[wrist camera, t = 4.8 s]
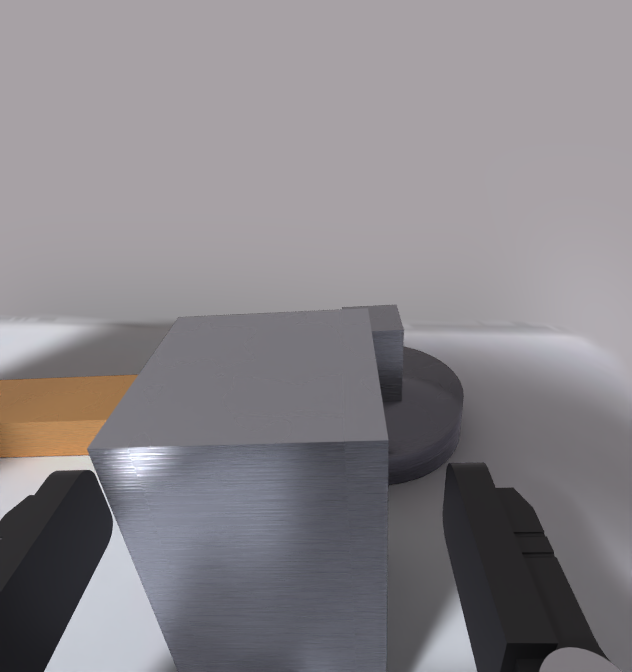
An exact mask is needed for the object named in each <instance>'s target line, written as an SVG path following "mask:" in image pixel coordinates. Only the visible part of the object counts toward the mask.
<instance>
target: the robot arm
mask: <svg viewBox="0 0 632 672" xmlns="http://www.w3.org/2000/svg"><path fill="white" fill-rule="evenodd" d="M443 527H444V535H445V540H446V544H447V549H448V553H449V557H450V561H451V565H452V569H453V573H454V577H455V581H456V586H457V590H458V594H459V598H460V602H461V606H462V610H463V614H464V618H465V623H466V627H467V631H468V635H469V639H470V643H471V647H472V651H473V655H474V660H475V664H476V668H477V672H622V671H621V670H620V669H619V668H617V667H616V666H615V665H614V664H613V663H611V662H610V660H609V659H608V658H607V657H606V656H605V654H604V653H603V651H602V650H601V648H600V647H599V645H598V643H597V642H596V640H595V638H594V636H593V634H592V632H591V629H590V627H589V625H588V623H587V621H586V619H585V617H584V615H583V613H582V610H581V608H580V606H579V604H578V602H577V600H576V598H575V596H574V593H573V591H572V589H571V587H570V585H569V583H568V581H567V579H566V577H565V574H564V572H563V570H562V568H561V566H560V564H559V562H558V560H557V558H556V557H555V556H554V551H553V549H552V547H551V545H550V543H549V541H548V538H547V537H545V535H544V530H543V528H542V526H541V524H540V522H539V519H538V517H537V515H536V513H535V511H534V509H533V507H532V506H531V505H530V504H529V503H528V502H527V501H526V500H525V499H524V498H523V497H522V496H521V495H520V494H519V493H518V492H517V491H516V490H515V489H514V488H495V485H494V483H493V480H492V478H491V475H490V473H489V470H488V468H487V466H486V464H485V463H449V464H448V465H447V471H446V482H445V492H444V503H443ZM112 528H113V519H112V515H111V512H110V509H109V507H108V505H107V502H106V500H105V497H104V495H103V493H102V490H101V488H100V485H99V483H98V480H97V478H96V476H95V474H94V473H93V472H92V471H90V470H71V471H55V472H53V473H52V474H50V475H49V476H48V478H47V479H46V480H45V482H44V483H43V484H42V486H41V487H40V488H39V490H38V491H37V492H36V494H35V495H29V496H28V497H26V498H25V499H24V500H23V501H21V502H20V503H19V504H18V505H17V506H15V507H14V508H13V509H12V510H10V511H9V512H8V513H7V514H5V516H4V517H3V518H2V519H1V521H0V672H44V670H45V668H46V666H47V664H48V662H49V661H50V659H51V657H52V655H53V653H54V651H55V649H56V647H57V645H58V643H59V641H60V639H61V637H62V635H63V633H64V631H65V629H66V627H67V625H68V623H69V621H70V619H71V617H72V615H73V613H74V611H75V609H76V607H77V605H78V603H79V601H80V599H81V597H82V595H83V593H84V591H85V589H86V587H87V585H88V583H89V581H90V579H91V577H92V575H93V573H94V571H95V569H96V567H97V565H98V563H99V561H100V559H101V558H102V556H103V554H104V552H105V550H106V548H107V546H108V543H109V541H110V538H111V534H112Z"/></svg>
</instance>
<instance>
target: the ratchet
mask: <svg viewBox="0 0 632 672" xmlns="http://www.w3.org/2000/svg"><path fill="white" fill-rule="evenodd" d="M362 308H368V311H369V318H370V324H371V331H372V337H373V344H374V350H375V357H376V363H377V370H378V376H379V382H380V389H381V395H382V402H383V408H384V415H385V421H386V428H387V434H388V484H396V483H402V482H407V481H410V480H413V479H417V478H419V477H422V476H424V475H426V474H428V473H430V472H432V471H434V470H435V469H437V468H438V467H440V466H441V465H442V464H443V463H445V462H446V461H447V459H448V458H449V457H450V456H451V455H452V453H453V452H454V450H455V448H456V446H457V443H458V441H459V435H460V426H461V416H462V407H463V397H464V396H463V388H462V385H461V383H460V381H459V379H458V377H457V376H456V375H455V373H454V372H453V371H452V370H451V369H450V368H449V367H448V366H447V365H445V364H444V363H442V362H441V361H440V360H438V359H436V358H434V357H433V356H430V355H428V354H426V353H424V352H421V351H418V350H415V349H411V348H407V347H403V337H404V329H403V326H402V322H401V319H400V315H399V312H398V309H397V305H381V306H360V307H342V309H362ZM137 376H138V375H116V376H91V377H65V378H40V379H15V380H0V457H31V456H67V455H89V453H88V450H87V448H88V446H89V445H90V444H91V442H92V441H93V439H94V438H95V436H96V435H97V434H98V432H99V431H100V429H101V428H102V426H103V425H104V423H105V422H106V421H107V419H108V418H109V416H110V415H111V413H112V412H113V411H114V409H115V408H116V406H117V405H118V403H119V402H120V401H121V399H122V398H123V396H124V395H125V393H126V392H127V390H128V389H129V388H130V386H131V385H132V383H133V382H134V380H135V379H136V378H137Z"/></svg>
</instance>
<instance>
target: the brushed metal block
mask: <svg viewBox="0 0 632 672" xmlns="http://www.w3.org/2000/svg"><path fill="white" fill-rule="evenodd" d="M87 450H88V453H89V455H90V458H91V460H92V463H93V465H94V468H95V470H96V472H97V475H98V477H99V480H100V482H101V485H102V487H103V490H104V492H105V494H106V497H107V499H108V502H109V504H110V507H111V509H112V511H113V514H114V516H115V519H116V521H117V524H118V526H119V529H120V531H121V533H122V536H123V538H124V541H125V543H126V546H127V548H128V550H129V553H130V555H131V558H132V560H133V563H134V565H135V568H136V570H137V572H138V575H139V577H140V580H141V582H142V585H143V587H144V589H145V592H146V594H147V597H148V599H149V602H150V604H151V607H152V609H153V611H154V614H155V616H156V619H157V621H158V624H159V626H160V628H161V631H162V633H163V636H164V638H165V641H166V643H167V646H168V648H169V650H170V653H171V655H172V658H173V660H174V663H175V665H176V667H177V670H178V672H386V664H387V550H388V434H387V428H386V421H385V415H384V408H383V402H382V395H381V389H380V382H379V376H378V370H377V363H376V357H375V350H374V344H373V337H372V331H371V324H370V318H369V311H368V308H362V309H342V310H322V311H300V312H279V313H258V314H237V315H216V316H195V317H178V319H177V320H176V322H175V323H174V324H173V326H172V327H171V329H170V330H169V332H168V333H167V334H166V336H165V337H164V339H163V340H162V342H161V343H160V345H159V346H158V347H157V349H156V350H155V352H154V353H153V355H152V356H151V357H150V359H149V360H148V362H147V363H146V365H145V366H144V367H143V369H142V370H141V372H140V373H139V375H138V376H137V378H136V379H135V380H134V382H133V383H132V385H131V386H130V388H129V389H128V390H127V392H126V393H125V395H124V396H123V398H122V399H121V401H120V402H119V403H118V405H117V406H116V408H115V409H114V411H113V412H112V413H111V415H110V416H109V418H108V419H107V421H106V422H105V423H104V425H103V426H102V428H101V429H100V431H99V432H98V434H97V435H96V436H95V438H94V439H93V441H92V442H91V444H90V445H89V446H88V448H87Z"/></svg>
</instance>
